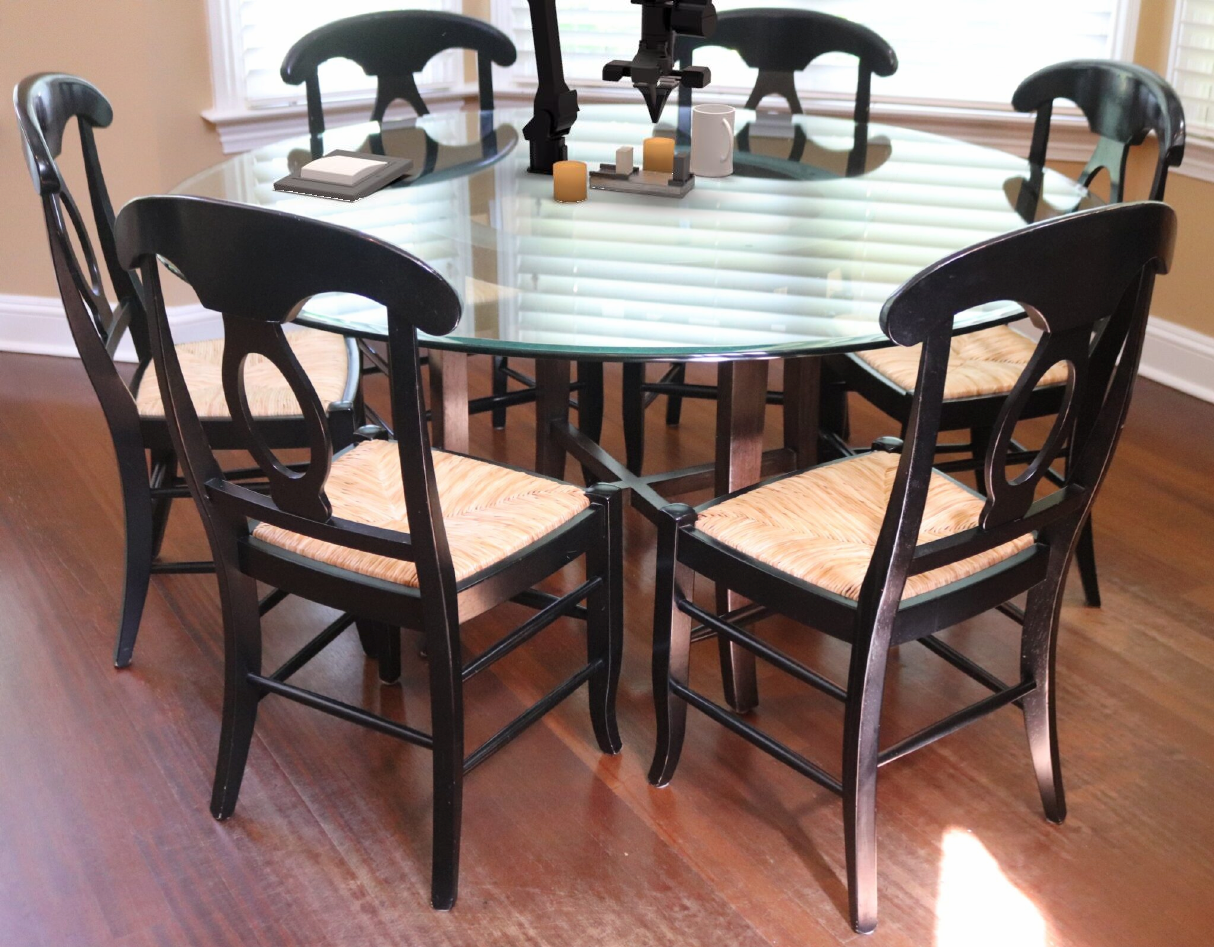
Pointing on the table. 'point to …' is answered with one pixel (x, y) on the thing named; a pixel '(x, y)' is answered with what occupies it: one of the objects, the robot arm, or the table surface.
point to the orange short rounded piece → (658, 154)
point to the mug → (712, 140)
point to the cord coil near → (570, 181)
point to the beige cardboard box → (624, 160)
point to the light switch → (345, 175)
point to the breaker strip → (640, 181)
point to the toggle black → (681, 166)
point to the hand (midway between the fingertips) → (655, 123)
